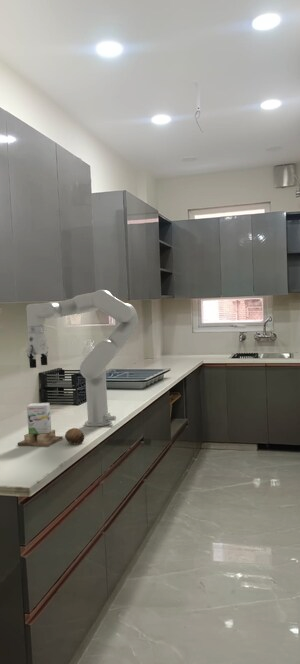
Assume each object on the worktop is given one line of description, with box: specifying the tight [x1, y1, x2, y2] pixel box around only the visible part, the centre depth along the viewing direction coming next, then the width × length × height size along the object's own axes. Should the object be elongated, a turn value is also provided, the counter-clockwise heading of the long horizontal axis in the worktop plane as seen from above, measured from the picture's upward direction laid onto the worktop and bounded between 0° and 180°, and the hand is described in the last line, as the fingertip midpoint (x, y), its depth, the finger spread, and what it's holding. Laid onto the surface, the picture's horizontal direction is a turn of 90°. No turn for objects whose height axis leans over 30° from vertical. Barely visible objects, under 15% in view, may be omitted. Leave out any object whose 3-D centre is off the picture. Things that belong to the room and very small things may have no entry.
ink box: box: [26, 402, 52, 434], centre depth 209 cm, size 8×5×12 cm, turn 86°
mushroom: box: [64, 427, 85, 445], centre depth 204 cm, size 8×8×6 cm
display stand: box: [17, 429, 63, 448], centre depth 209 cm, size 12×14×4 cm
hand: (38, 366), depth 239 cm, fingers open, 9 cm apart
